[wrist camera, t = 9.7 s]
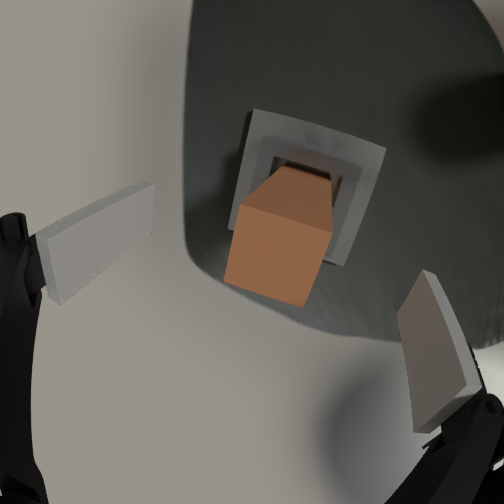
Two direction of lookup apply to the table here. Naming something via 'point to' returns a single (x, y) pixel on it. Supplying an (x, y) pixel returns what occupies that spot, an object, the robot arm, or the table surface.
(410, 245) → the table surface
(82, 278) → the robot arm
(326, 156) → the grey square socket
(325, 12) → the table surface
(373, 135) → the table surface
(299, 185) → the orange square peg
